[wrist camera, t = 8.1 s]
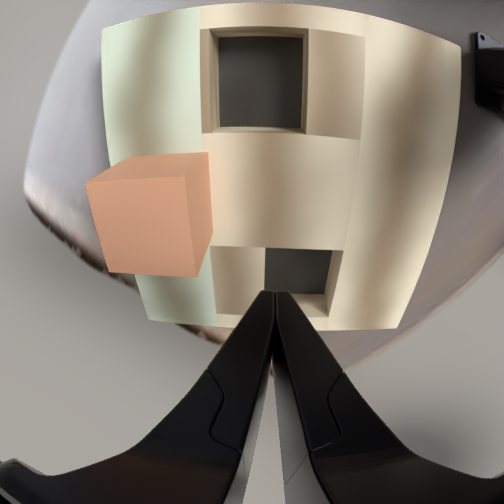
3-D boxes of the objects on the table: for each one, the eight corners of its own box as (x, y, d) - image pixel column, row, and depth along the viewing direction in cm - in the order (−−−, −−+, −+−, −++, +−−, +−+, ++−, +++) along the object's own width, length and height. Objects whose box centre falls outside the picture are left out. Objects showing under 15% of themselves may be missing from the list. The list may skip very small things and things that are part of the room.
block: (208, 152, 14) (184, 176, 11) (213, 232, 17) (196, 277, 13) (127, 157, 15) (85, 183, 11) (139, 231, 17) (109, 272, 14)
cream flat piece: (436, 49, 11) (460, 47, 9) (387, 304, 23) (396, 327, 21) (124, 34, 13) (101, 29, 10) (159, 296, 24) (148, 319, 22)
